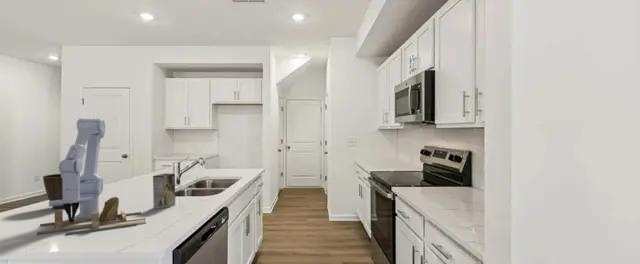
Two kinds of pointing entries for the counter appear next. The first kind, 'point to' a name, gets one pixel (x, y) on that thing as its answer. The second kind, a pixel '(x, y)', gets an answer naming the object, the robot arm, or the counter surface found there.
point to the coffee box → (164, 190)
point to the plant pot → (54, 188)
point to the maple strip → (96, 224)
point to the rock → (109, 210)
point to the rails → (90, 226)
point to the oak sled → (80, 220)
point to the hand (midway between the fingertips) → (71, 221)
